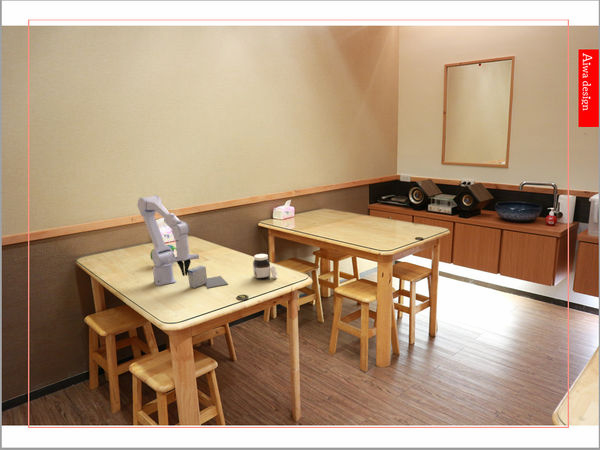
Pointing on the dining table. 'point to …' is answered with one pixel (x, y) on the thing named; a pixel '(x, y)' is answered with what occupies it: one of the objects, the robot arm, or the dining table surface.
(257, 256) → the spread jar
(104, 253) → the dining table surface
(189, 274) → the medicine box
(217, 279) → the mat
